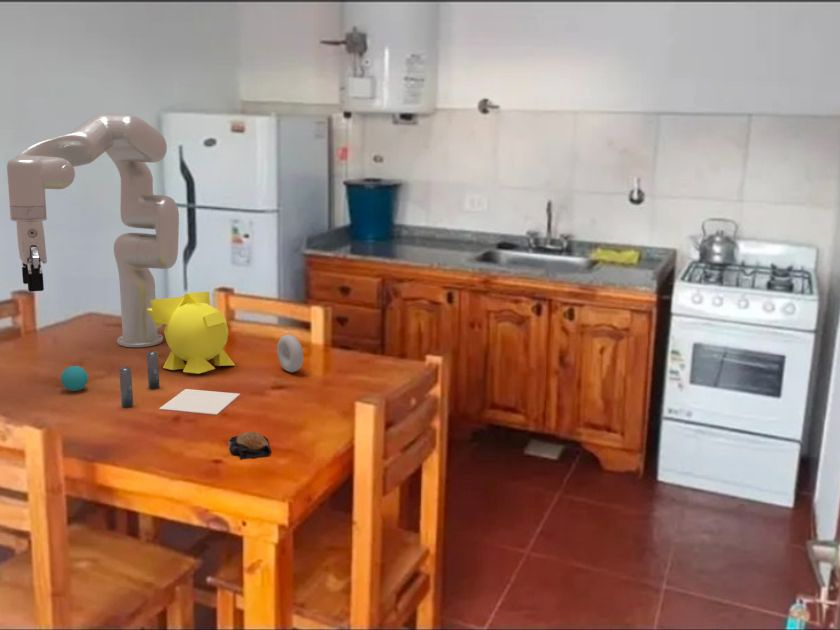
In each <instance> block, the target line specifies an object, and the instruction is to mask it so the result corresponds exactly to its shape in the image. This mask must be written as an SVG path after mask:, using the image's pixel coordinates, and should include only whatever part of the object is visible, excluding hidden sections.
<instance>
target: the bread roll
mask: <svg viewBox="0 0 840 630" xmlns="http://www.w3.org/2000/svg"><path fill="white" fill-rule="evenodd" d="M227 445H228V447H229V448H228V449H229V451H230V452H231V454H232V455H233V456H234V457H238V458H239V460H241V461H242V460H250V459H251V460H252V459H261V458H266V457H267V458H268V456H270V455H271V454H272V453H273V452H272V449H271V447H270V442H269V439H268V437H266V436H265V435H264V436H263V435H262V434H261V433H259V432H257V431H248V432H242V433H240V434H238V435H236V436H232V437H231V439H229V440H228V441H227Z"/></svg>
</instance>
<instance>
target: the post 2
mask: <svg viewBox="0 0 840 630" xmlns="http://www.w3.org/2000/svg"><path fill="white" fill-rule="evenodd" d="M146 364H147V365H146V367H147V382H148V383H147V384H148V389H149V390H158V389H159V388H160V386H161V385H160V370H159V369H160V367H159V351H157V350H149V351H147V352H146Z"/></svg>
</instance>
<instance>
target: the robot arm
mask: <svg viewBox="0 0 840 630" xmlns="http://www.w3.org/2000/svg"><path fill="white" fill-rule="evenodd" d="M167 150H168V147H167V141H166V139H165V137H164V135H163V134H162V133H161V132H160V131H159V130H157V128H155V127H154V126H152V125H151V124H149V123H148V122H146V121H145V120H144V119H141V118H140V117H139V116H136V115H133V114H128V113H127V114H126V113H108V112H107V113H104V112H103V113H97V114H95V115H93V116H92V117H90V118H89V119H87V120H86V121H85V122H83V123H82V124H80V125H79V126H77V127H76V128H74V129H73V130H71V132H69V133H66V134H61V135H59V136H55V137H53V138H50V139H46V140H43V141H39V142H37V143H35V144H32V145H30V146H29V147H27V148H25V149H24V150H23V151H22V152H20V153H18V154H17V155H16V156H15V157H14V158H10V159H9V160H8V161H7V164H6V171H7V173H6V174H7V184H8V185H7V186H8V188H7V189H8V199H9V213H10V221H11V222H12V221H13V222H16V233H17V234H16V236H17V247H18V252H19V253H18V254H19V259H20V261H21V262H22V263H21V265H22V267H21V274H22V283H23V284H24V285H27V290H28V292H42V291H44V290H45V288H44V287H45V286H44V274H43V269H42V263H43V264H44V265H45V264H46V263H47V262H48V259H47V249H46V239H45V238H46V236H45V230H44V229H45V228H44V224H43V221H46V220H48V219H47V218H48V217H47V204H46V203H47V202H46V190H64V189H65V188H68V187H70V186H71V185H72V184H73V182H74V181H75V180H74V179H75V177H76V173H75V172H76V171H75V168H76V167H80V166H85V165H88V164H91V163H93V162H94V161H95V160H96V159H98V158H99V157H100V156H102V155H103V154H104V153H106V155H108V157H109V158H110V160H112V162H113V163H114V165H115V166H116V168H117V170H118V173H119V177H120V205H119V206H120V220H121V222H122V223H123V225H124V226H125V227H129V228H135V229H143V230H145V229H146V230H155V233H143V232H126V233H123V234H120V235H119V236H118V237H117V238H116V239H115V241H114V244H113V255H114V258H115V262H116V266H117V271H118V278H119V281H118V282H119V294H120V311H121V313H120V314H121V327H122V328H121V330H122V335H120V336H119V337H118V338H117V340H116V342H117V344H118V345H119V346H121V347H126V348H147V347H152V346H157V345H159V344H161V343H162V342H163V341H164V336H163V335H162V334H160V333H158V330H159V329H160V328H162V326H163V325H161V326H159V327H157V326H156V324H155V323H154V321H153V319H152V318H151V316H150V314H149V312H148V311H147V309H149V308H152V305H151V300H154V299H157V298H156V296H157V295H156V283H155V279H154V275H153V274H152V272H151V271H150V269H158V270H167V269H172V268H173V267H174V266H175V264H176V263H177V259H178V255H179V230H180V229H179V227H180V226H179V224H180V213H179V208H178V206H177V202H176V201H175V199H173V198H172V197H171V196H167V195H162V194H154V193H153V192H154V189H153V188H154V187H153V186H154V183H153V182H154V181H153V180H154V179H153V174H152V172H151V170H150V168H149V166H148V164H147V163H158V162H159V163H160V161H162V160H163V159H164V158H165V157H166V154H167ZM41 262H42V263H41Z"/></svg>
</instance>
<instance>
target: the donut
mask: <svg viewBox="0 0 840 630" xmlns="http://www.w3.org/2000/svg"><path fill="white" fill-rule="evenodd" d="M277 342H278V343H277V346H276V353H277V354H276V355H277V358H278V362H279V364H280V366H281V367H282V368H283V369H284V370H285V371H287V372H289V373H295V372H298V371H299V370H301V367H302V366H303V362H304V351H303V347H302V345H301V342H300V340H299V339H298V338H297V337H296V336H294V335H292V334H285V335H283V336H281V337H280V339H279V340H278V341H277Z"/></svg>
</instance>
